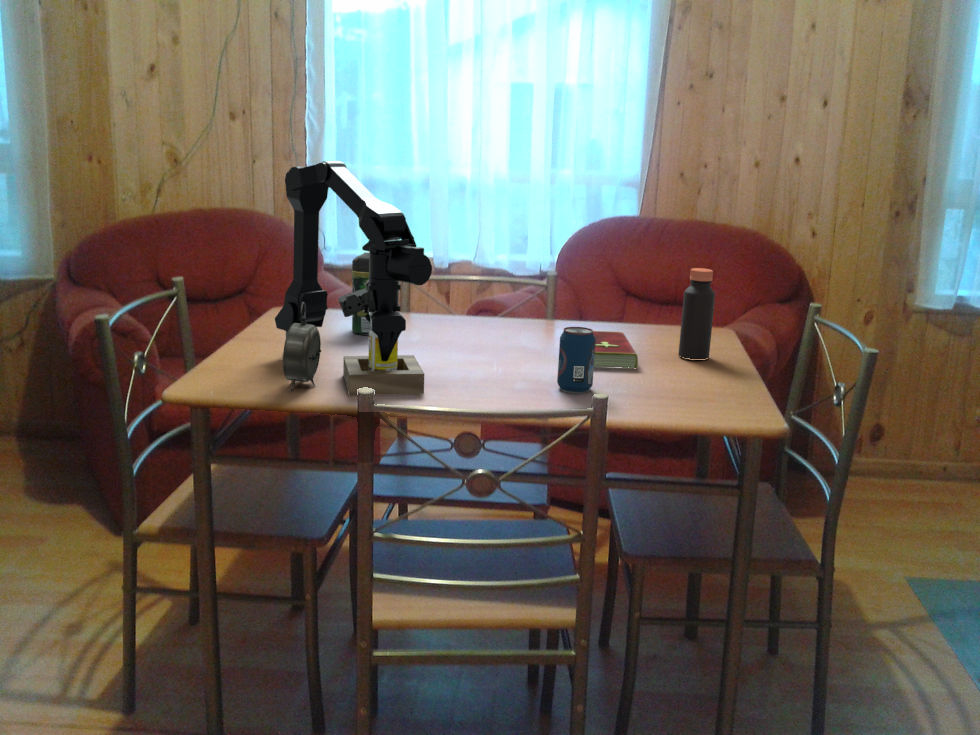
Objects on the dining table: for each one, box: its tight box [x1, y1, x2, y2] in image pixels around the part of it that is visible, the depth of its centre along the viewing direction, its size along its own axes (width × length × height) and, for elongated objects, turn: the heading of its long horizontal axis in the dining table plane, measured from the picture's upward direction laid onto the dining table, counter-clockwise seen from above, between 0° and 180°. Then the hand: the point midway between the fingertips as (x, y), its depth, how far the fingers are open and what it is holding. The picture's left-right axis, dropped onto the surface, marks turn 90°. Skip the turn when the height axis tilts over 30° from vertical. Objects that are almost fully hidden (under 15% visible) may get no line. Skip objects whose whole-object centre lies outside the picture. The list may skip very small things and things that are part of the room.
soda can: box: [556, 326, 596, 394], centre depth 197 cm, size 7×7×12 cm
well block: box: [343, 354, 425, 397], centre depth 196 cm, size 14×14×4 cm
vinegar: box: [678, 267, 716, 359], centre depth 225 cm, size 7×7×20 cm
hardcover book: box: [593, 330, 639, 368], centre depth 225 cm, size 12×21×4 cm, turn 1°
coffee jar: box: [351, 251, 371, 336], centre depth 238 cm, size 10×8×19 cm
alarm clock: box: [282, 302, 322, 392], centre depth 191 cm, size 11×5×16 cm, turn 174°
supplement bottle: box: [368, 330, 399, 371], centre depth 194 cm, size 6×6×10 cm
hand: (382, 357), depth 195 cm, fingers closed on supplement bottle, 5 cm apart
